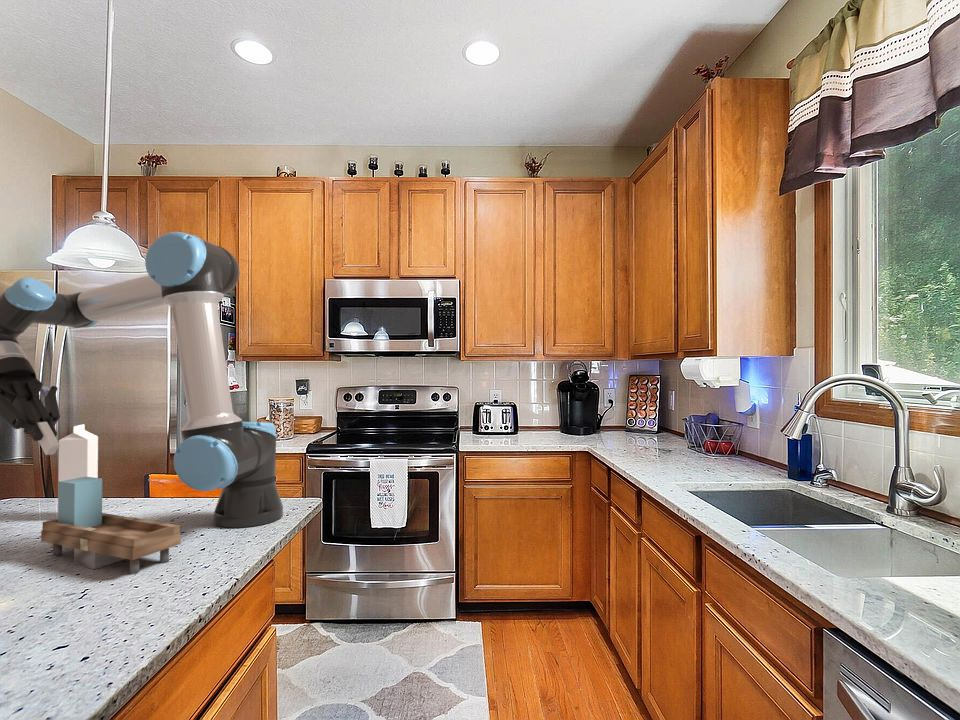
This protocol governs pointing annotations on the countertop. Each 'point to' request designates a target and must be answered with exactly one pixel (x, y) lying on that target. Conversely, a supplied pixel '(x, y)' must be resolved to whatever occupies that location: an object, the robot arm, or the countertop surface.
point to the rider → (80, 501)
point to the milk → (78, 455)
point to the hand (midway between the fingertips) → (52, 450)
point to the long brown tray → (112, 540)
